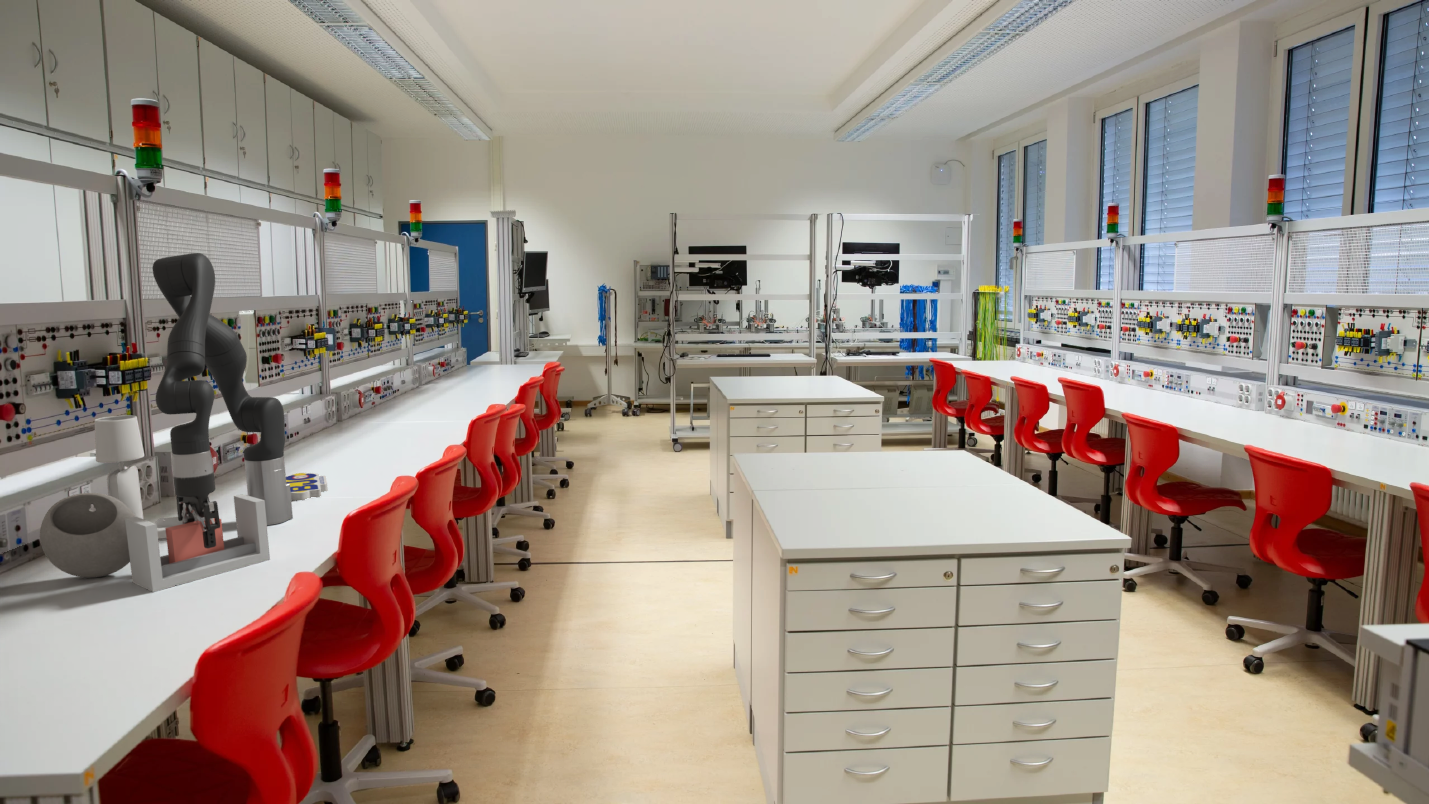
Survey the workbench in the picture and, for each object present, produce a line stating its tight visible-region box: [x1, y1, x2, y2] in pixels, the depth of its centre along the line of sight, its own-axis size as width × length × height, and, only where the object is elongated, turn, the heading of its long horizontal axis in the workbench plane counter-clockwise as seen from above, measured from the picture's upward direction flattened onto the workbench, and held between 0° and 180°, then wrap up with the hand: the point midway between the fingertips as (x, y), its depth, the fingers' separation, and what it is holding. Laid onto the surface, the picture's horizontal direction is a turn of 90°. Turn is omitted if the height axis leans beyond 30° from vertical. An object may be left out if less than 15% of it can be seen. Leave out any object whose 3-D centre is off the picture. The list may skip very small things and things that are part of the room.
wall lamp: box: [94, 414, 182, 540], centre depth 210 cm, size 10×21×30 cm, turn 101°
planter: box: [39, 492, 136, 579], centre depth 180 cm, size 18×7×19 cm, turn 105°
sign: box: [286, 472, 329, 501], centre depth 254 cm, size 28×3×20 cm
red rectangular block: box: [165, 518, 224, 564], centre depth 183 cm, size 10×3×9 cm, turn 145°
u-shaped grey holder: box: [125, 493, 271, 593], centre depth 184 cm, size 24×10×14 cm, turn 145°
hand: (201, 544), depth 184 cm, fingers open, 8 cm apart
